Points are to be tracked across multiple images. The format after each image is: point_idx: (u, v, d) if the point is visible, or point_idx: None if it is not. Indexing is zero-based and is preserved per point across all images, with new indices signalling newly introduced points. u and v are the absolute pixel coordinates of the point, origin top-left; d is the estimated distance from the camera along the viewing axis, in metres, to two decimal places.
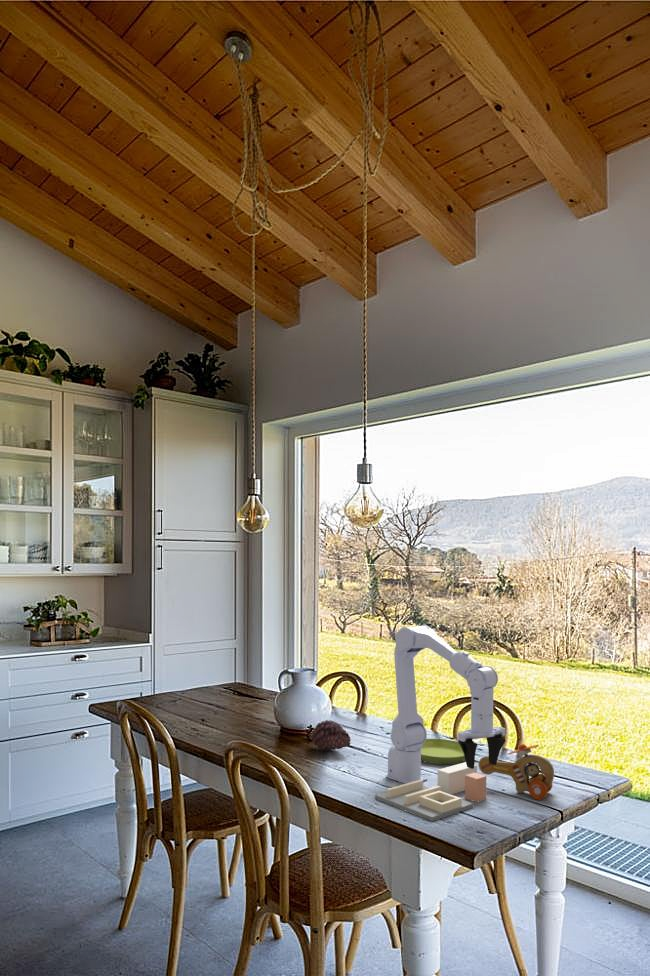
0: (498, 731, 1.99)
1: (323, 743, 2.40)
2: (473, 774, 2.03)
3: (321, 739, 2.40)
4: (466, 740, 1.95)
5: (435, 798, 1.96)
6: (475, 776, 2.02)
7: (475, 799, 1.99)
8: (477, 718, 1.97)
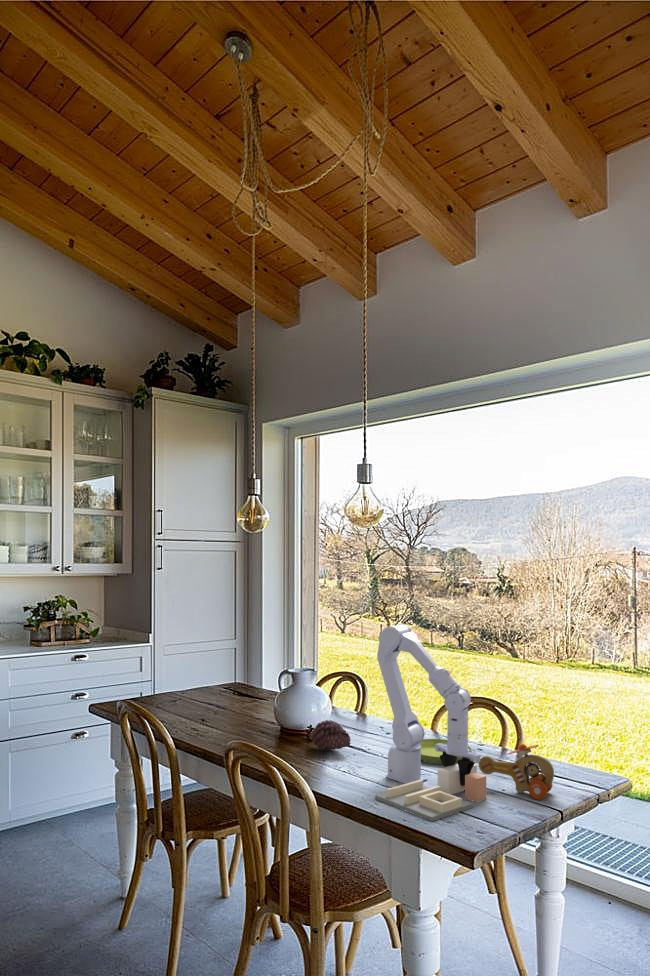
0: (465, 754, 2.06)
1: (323, 743, 2.40)
2: (473, 774, 2.03)
3: (321, 739, 2.40)
4: None
5: (435, 798, 1.96)
6: (475, 776, 2.02)
7: (475, 799, 1.99)
8: None
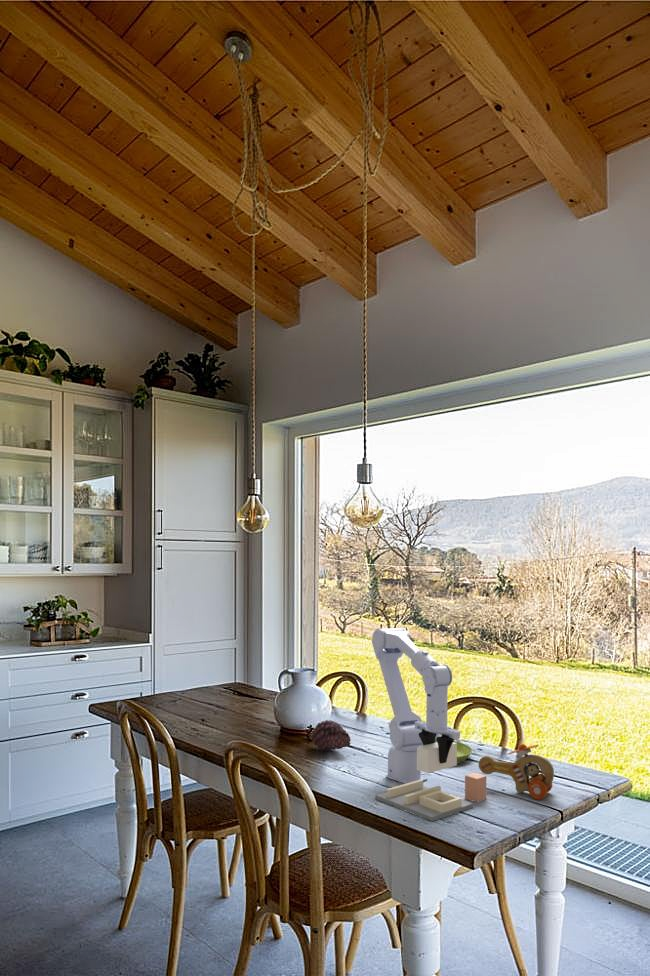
0: (444, 731, 2.02)
1: (323, 743, 2.40)
2: (473, 774, 2.03)
3: (321, 739, 2.40)
4: (418, 729, 2.10)
5: (435, 798, 1.96)
6: (475, 776, 2.02)
7: (475, 799, 1.99)
8: None
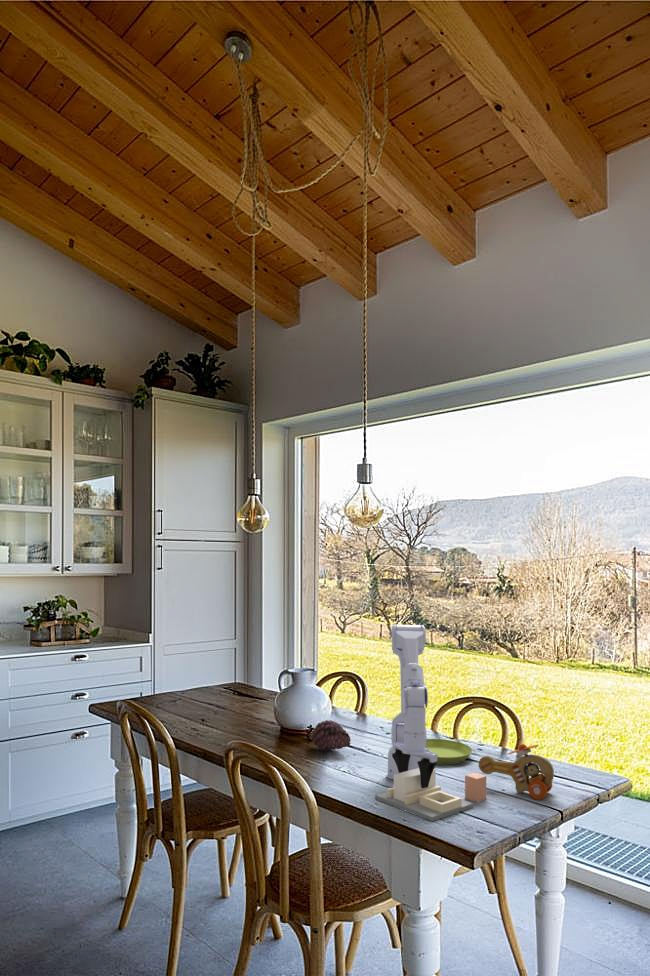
0: (421, 754, 1.97)
1: (323, 743, 2.40)
2: (473, 774, 2.03)
3: (321, 739, 2.40)
4: (396, 750, 2.05)
5: (435, 798, 1.96)
6: (475, 776, 2.02)
7: (475, 799, 1.99)
8: None
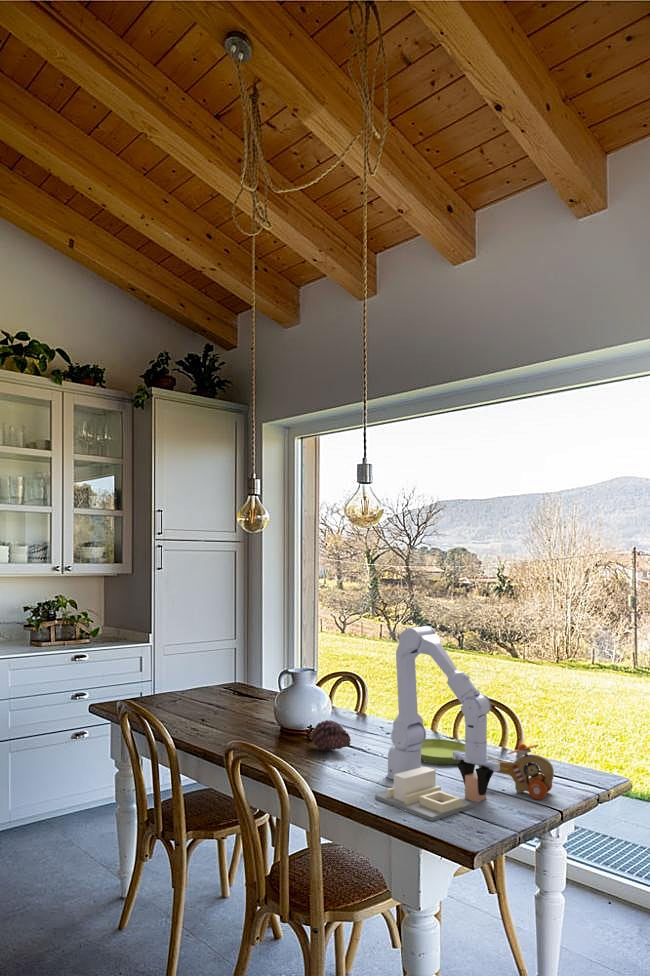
0: (484, 763, 1.98)
1: (323, 743, 2.40)
2: (473, 774, 2.03)
3: (321, 739, 2.40)
4: None
5: (435, 798, 1.96)
6: (475, 775, 2.02)
7: (475, 799, 1.99)
8: None
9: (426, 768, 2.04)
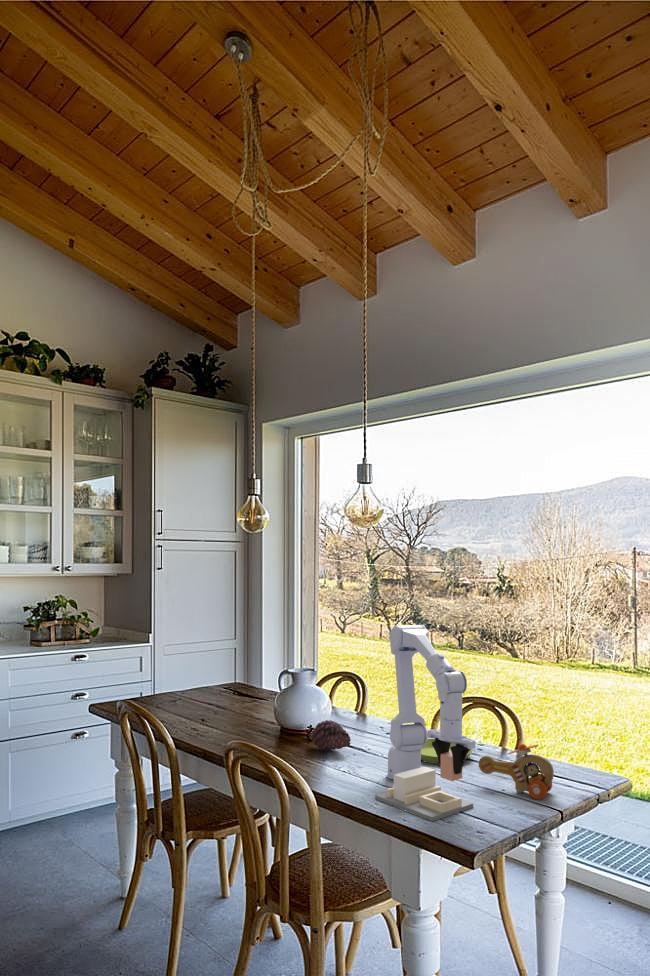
0: (459, 741, 1.92)
1: (323, 743, 2.40)
2: (449, 753, 1.97)
3: (321, 739, 2.40)
4: None
5: (435, 798, 1.96)
6: (451, 754, 1.96)
7: (451, 778, 1.94)
8: None
9: (426, 768, 2.04)
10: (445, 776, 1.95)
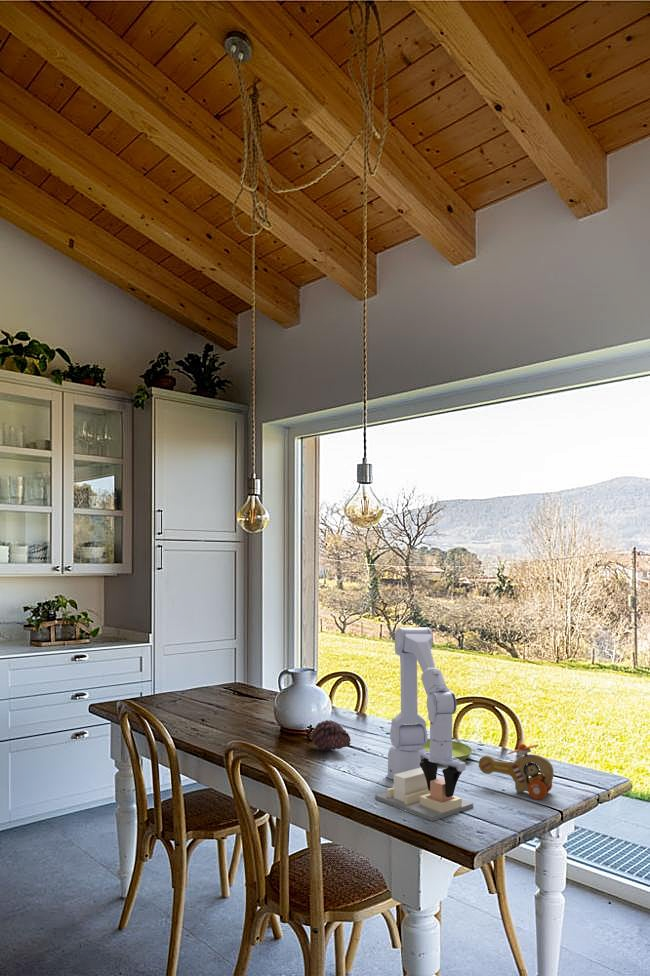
0: (449, 762, 1.90)
1: (323, 743, 2.40)
2: (439, 780, 1.95)
3: (321, 739, 2.40)
4: (421, 758, 1.98)
5: None
6: (440, 781, 1.93)
7: None
8: None
9: None
10: None
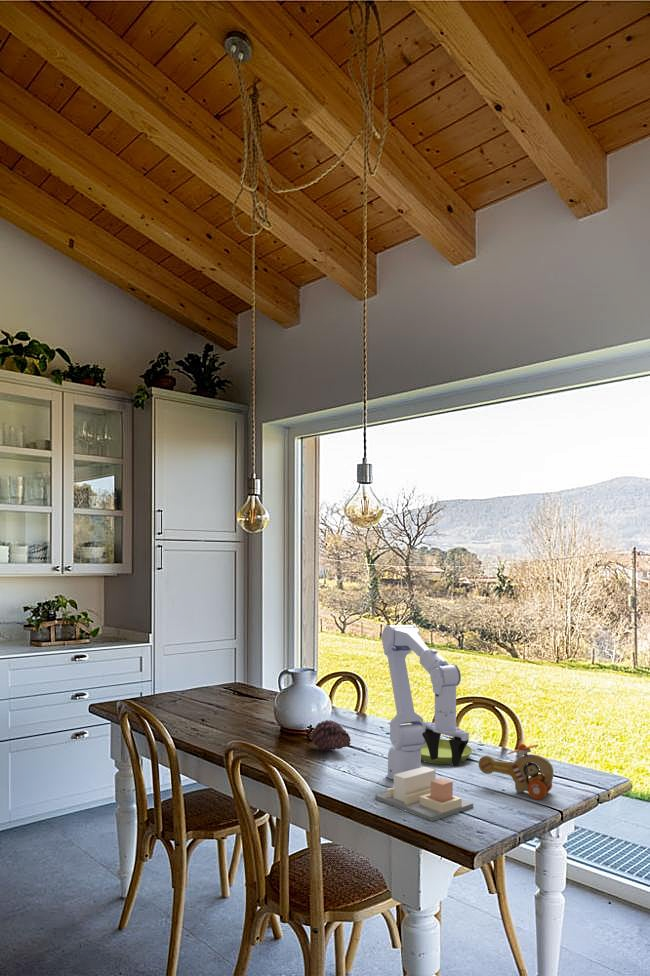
0: (453, 732, 1.97)
1: (323, 743, 2.40)
2: (439, 780, 1.95)
3: (321, 739, 2.40)
4: (426, 730, 2.05)
5: None
6: (441, 781, 1.93)
7: None
8: None
9: (426, 768, 2.04)
10: None
